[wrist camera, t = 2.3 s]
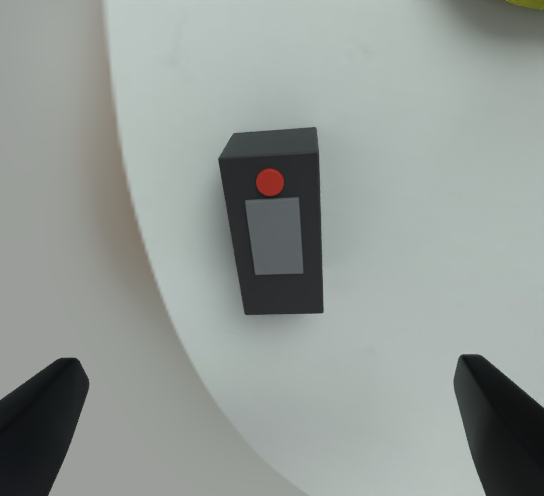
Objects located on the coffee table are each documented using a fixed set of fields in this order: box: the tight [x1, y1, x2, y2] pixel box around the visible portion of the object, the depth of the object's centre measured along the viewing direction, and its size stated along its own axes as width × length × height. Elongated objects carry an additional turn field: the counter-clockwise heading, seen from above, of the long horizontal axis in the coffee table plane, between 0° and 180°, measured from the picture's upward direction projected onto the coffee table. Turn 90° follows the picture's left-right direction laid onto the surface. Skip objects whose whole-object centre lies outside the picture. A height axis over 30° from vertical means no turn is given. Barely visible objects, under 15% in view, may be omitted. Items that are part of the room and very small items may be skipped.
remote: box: [218, 127, 324, 315], centre depth 15 cm, size 7×3×3 cm, turn 5°
